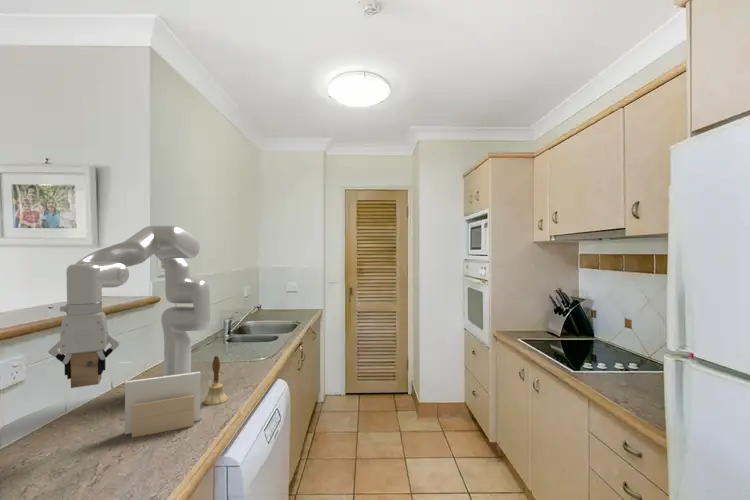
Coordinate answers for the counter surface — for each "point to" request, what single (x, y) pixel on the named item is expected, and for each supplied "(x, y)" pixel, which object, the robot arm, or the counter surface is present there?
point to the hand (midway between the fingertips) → (85, 374)
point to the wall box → (84, 369)
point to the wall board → (162, 403)
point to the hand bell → (215, 387)
